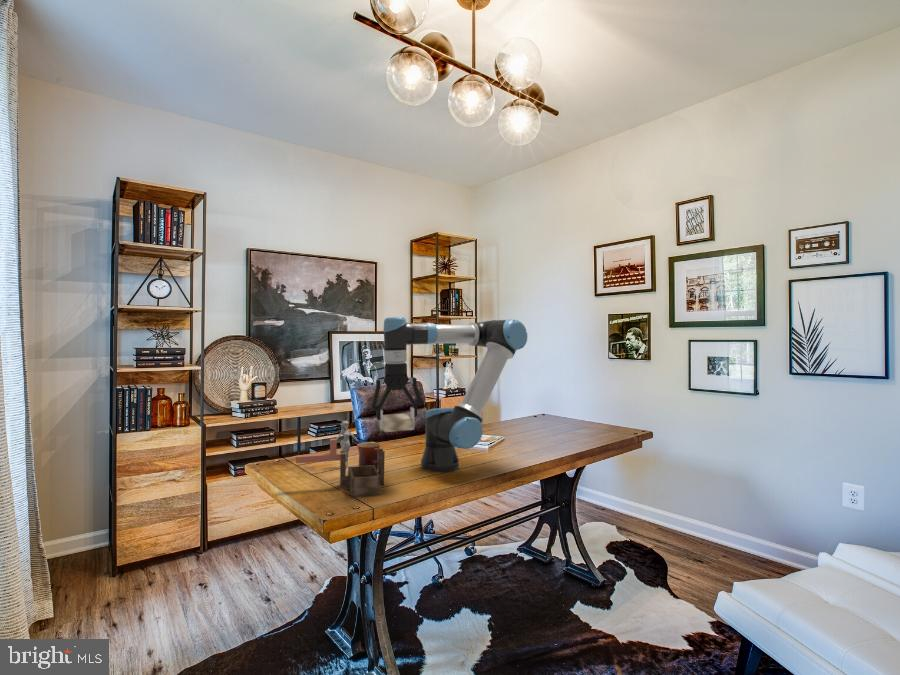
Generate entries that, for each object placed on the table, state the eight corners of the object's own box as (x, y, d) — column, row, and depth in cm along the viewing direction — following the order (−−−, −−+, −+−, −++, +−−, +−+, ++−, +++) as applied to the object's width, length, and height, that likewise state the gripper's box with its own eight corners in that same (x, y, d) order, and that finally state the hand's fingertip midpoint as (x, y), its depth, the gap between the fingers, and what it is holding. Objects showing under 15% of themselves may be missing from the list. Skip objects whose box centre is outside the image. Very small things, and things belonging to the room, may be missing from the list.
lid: (405, 421, 171) (405, 413, 171) (414, 429, 156) (413, 420, 156) (377, 423, 168) (377, 415, 168) (384, 432, 154) (384, 423, 154)
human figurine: (333, 471, 177) (333, 423, 177) (328, 469, 179) (329, 422, 179) (360, 465, 185) (361, 419, 185) (355, 463, 188) (356, 418, 188)
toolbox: (382, 481, 164) (382, 448, 164) (388, 494, 151) (389, 458, 151) (339, 484, 160) (340, 451, 160) (342, 498, 147) (343, 461, 147)
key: (345, 458, 159) (345, 438, 159) (345, 460, 157) (345, 439, 157) (295, 461, 155) (296, 440, 155) (295, 463, 153) (295, 441, 153)
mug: (352, 471, 176) (352, 444, 176) (370, 467, 182) (370, 441, 182) (372, 478, 168) (372, 449, 168) (390, 473, 174) (391, 445, 174)
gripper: (363, 364, 152) (365, 433, 152) (430, 362, 158) (432, 427, 159) (360, 363, 159) (362, 428, 159) (425, 360, 165) (426, 423, 166)
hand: (397, 427), depth 159 cm, fingers closed on lid, 10 cm apart
